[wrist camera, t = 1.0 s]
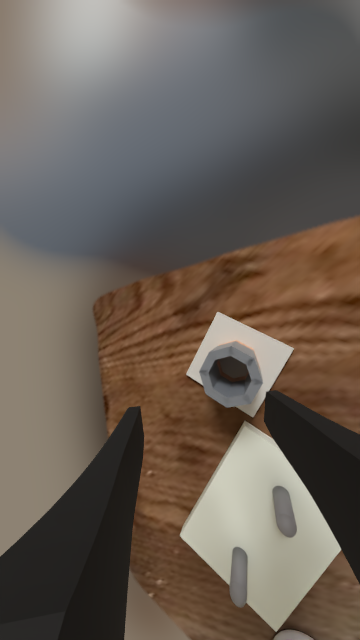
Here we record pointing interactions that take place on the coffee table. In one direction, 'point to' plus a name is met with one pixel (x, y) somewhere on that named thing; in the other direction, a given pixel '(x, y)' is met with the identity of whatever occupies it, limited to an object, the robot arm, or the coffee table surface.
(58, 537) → the robot arm
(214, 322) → the pad
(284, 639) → the supplement bottle
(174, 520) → the coffee table surface
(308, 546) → the pin board
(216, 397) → the sleeve
